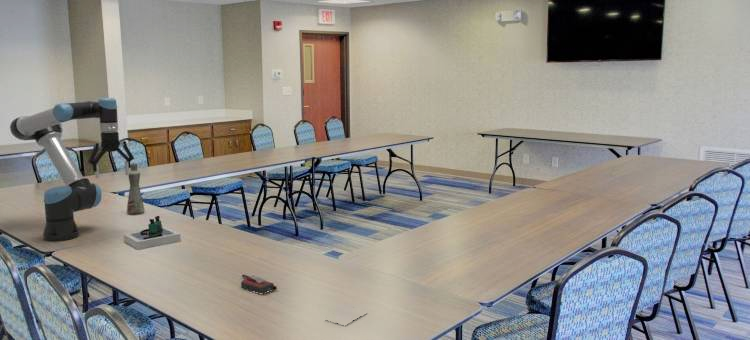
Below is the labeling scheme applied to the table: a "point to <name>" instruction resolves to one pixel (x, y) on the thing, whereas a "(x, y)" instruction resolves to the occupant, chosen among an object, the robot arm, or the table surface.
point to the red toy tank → (257, 284)
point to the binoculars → (153, 229)
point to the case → (151, 239)
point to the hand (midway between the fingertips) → (112, 176)
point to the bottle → (134, 192)
